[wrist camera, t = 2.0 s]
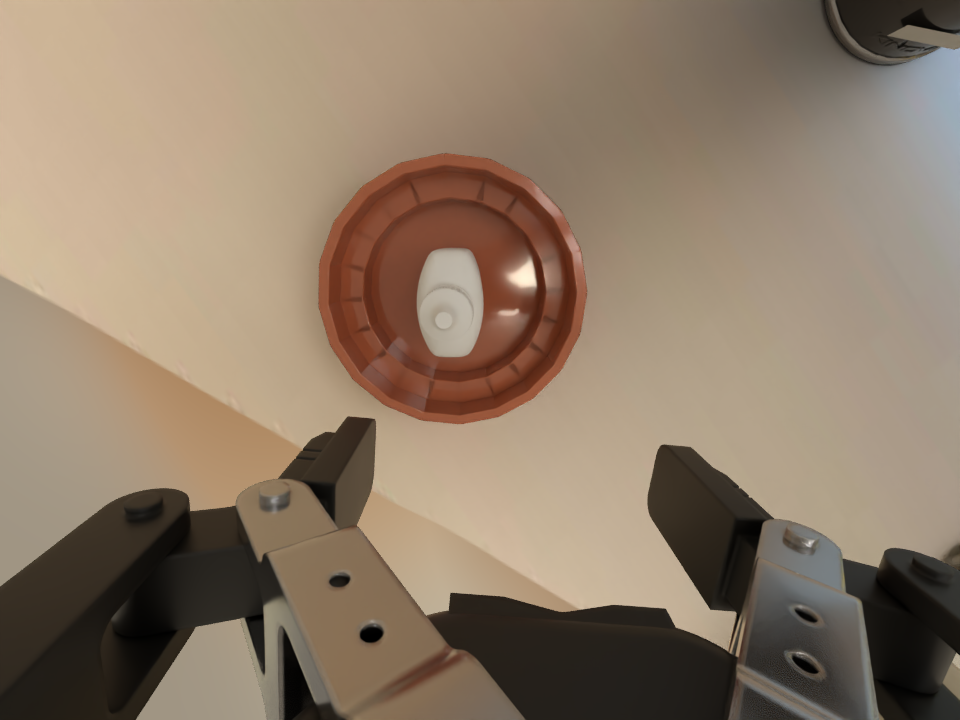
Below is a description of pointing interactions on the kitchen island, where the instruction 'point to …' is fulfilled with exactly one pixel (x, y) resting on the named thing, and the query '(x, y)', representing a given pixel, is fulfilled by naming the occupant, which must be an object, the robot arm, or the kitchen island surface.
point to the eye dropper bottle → (450, 302)
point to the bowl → (504, 275)
